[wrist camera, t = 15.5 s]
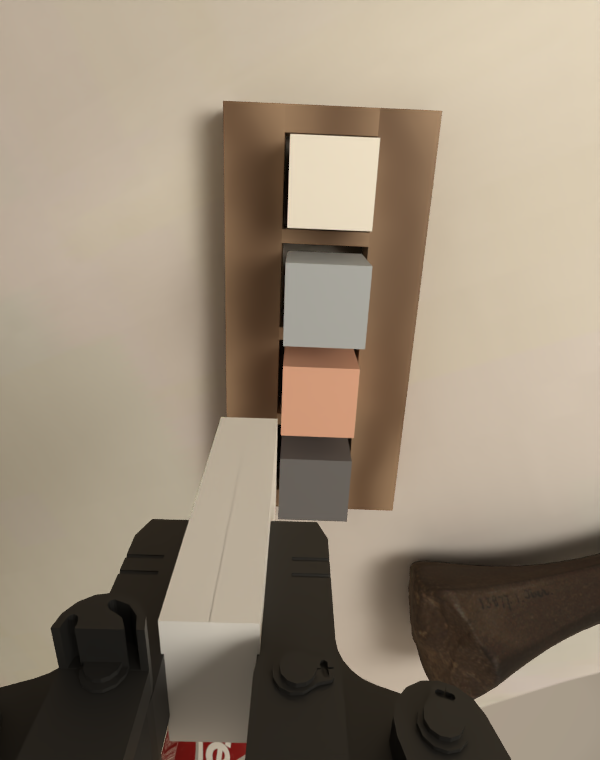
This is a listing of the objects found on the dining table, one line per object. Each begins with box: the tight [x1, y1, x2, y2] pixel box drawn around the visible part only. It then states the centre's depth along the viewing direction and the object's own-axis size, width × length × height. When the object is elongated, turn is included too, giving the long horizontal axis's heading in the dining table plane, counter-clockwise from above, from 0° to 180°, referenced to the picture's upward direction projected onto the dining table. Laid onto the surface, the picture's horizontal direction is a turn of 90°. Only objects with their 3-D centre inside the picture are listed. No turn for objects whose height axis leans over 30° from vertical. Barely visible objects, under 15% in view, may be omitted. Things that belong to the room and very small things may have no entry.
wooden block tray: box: [223, 101, 442, 510], centre depth 34 cm, size 12×26×3 cm, turn 178°
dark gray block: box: [278, 435, 352, 522], centre depth 35 cm, size 4×4×5 cm
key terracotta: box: [281, 346, 360, 438], centre depth 32 cm, size 4×4×5 cm
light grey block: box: [283, 251, 372, 349], centre depth 29 cm, size 4×4×5 cm
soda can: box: [161, 730, 247, 760], centre depth 42 cm, size 7×7×12 cm
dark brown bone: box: [408, 553, 600, 700], centre depth 39 cm, size 11×10×28 cm
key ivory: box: [287, 134, 380, 231], centre depth 28 cm, size 4×4×5 cm
